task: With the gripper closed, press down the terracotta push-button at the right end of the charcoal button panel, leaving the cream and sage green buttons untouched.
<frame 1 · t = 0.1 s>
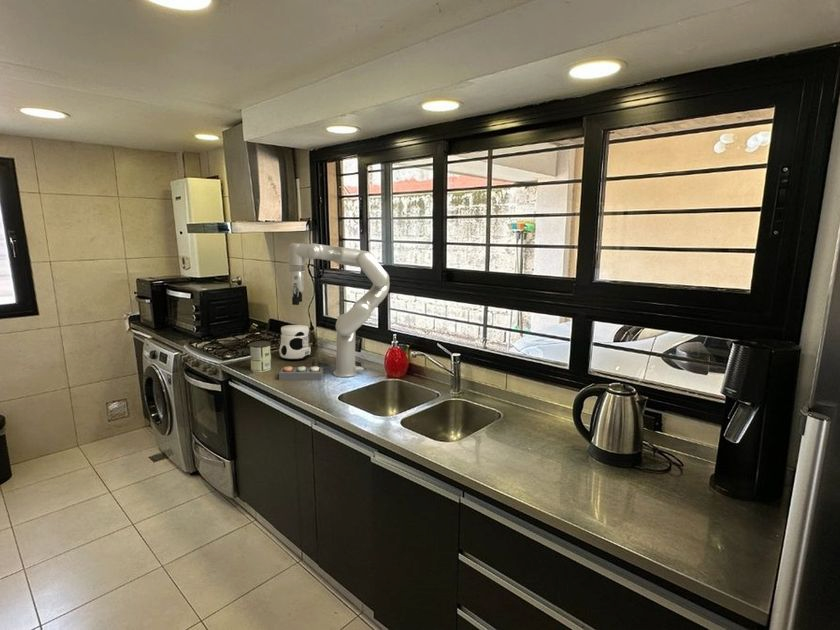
hand: (297, 303, 215), 37 cm above the counter, tool pointing down, fingers open, 9 cm apart
coffee can: (261, 369, 226), on the counter
terracotta button: (288, 369, 215), point 4 cm above the counter, slide at 0.0 cm
button panel: (301, 377, 216), on the counter
milk container: (295, 358, 250), on the counter
cream button: (314, 369, 217), point 4 cm above the counter, slide at 0.0 cm
green button: (301, 369, 216), point 4 cm above the counter, slide at 0.0 cm
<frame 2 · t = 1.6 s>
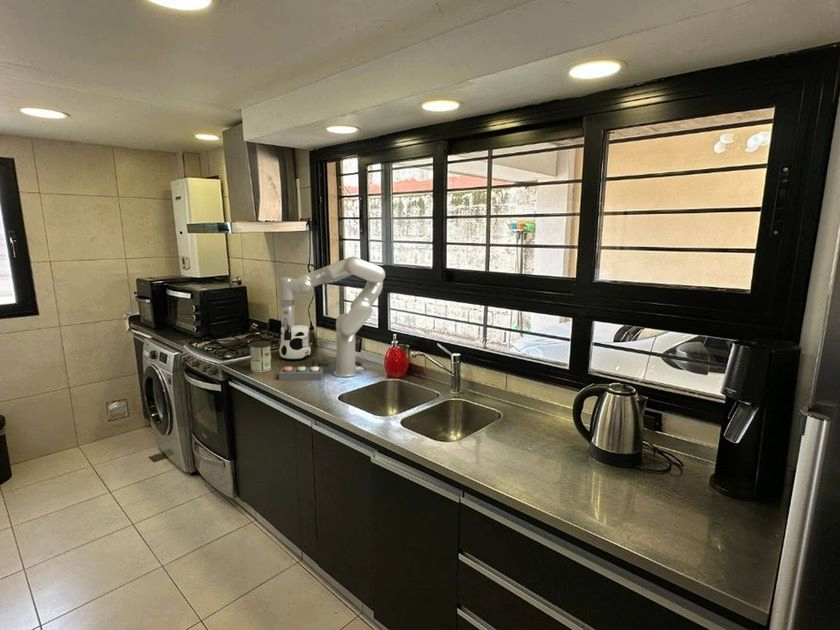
hand: (287, 339, 212), 19 cm above the counter, tool pointing down, fingers closed
nothing on the counter moved.
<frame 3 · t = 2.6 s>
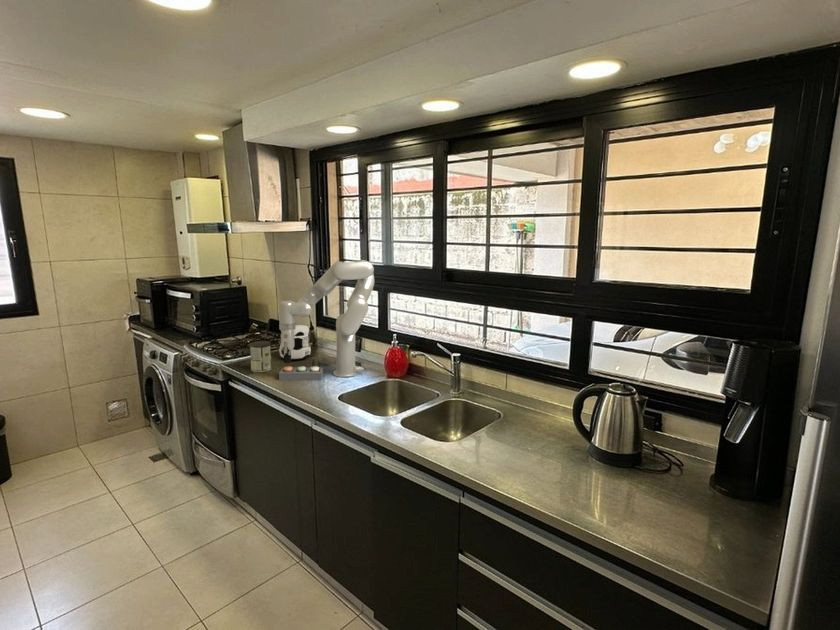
hand: (287, 362, 214), 8 cm above the counter, tool pointing down, fingers closed
nothing on the counter moved.
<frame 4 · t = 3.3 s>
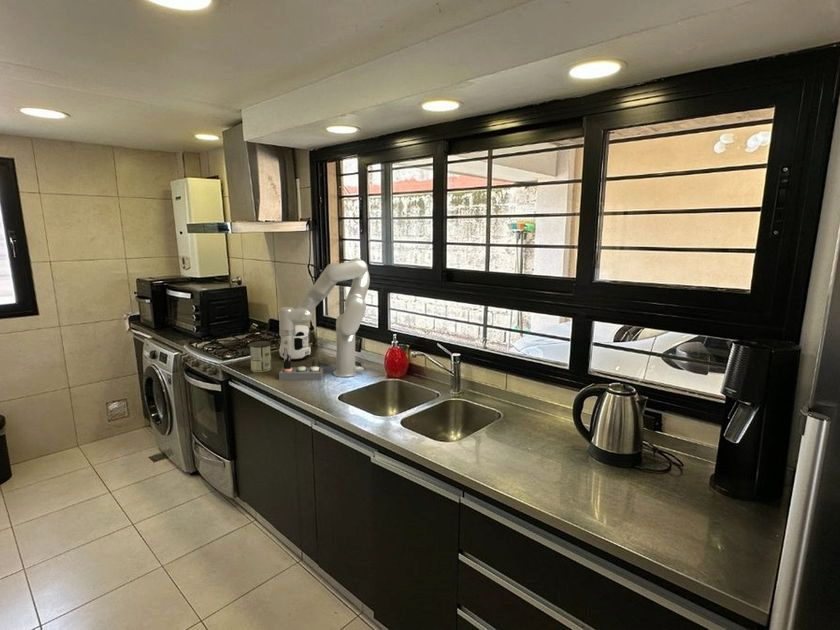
hand: (287, 368, 215), 4 cm above the counter, tool pointing down, fingers closed
terracotta button: (288, 370, 215), point 3 cm above the counter, slide at 0.6 cm, touching gripper
everything else where it was.
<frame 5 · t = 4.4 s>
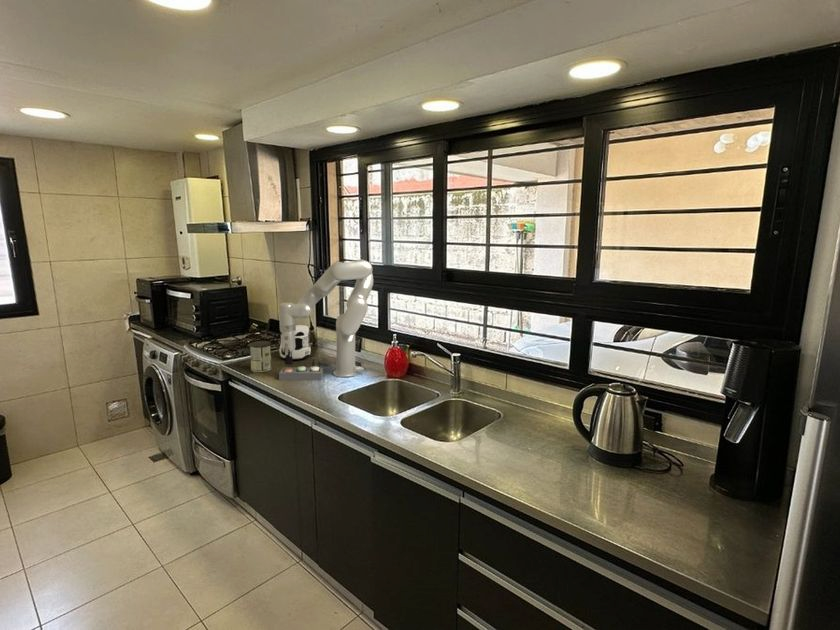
hand: (288, 364, 215), 7 cm above the counter, tool pointing down, fingers closed
terracotta button: (288, 371, 215), point 3 cm above the counter, slide at 1.3 cm
everything else where it was.
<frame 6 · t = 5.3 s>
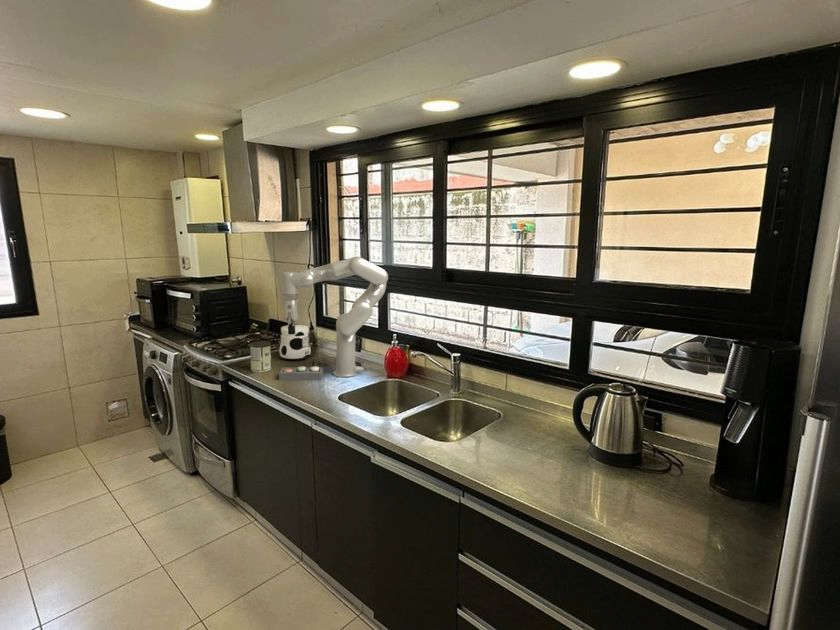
hand: (291, 333, 214), 22 cm above the counter, tool pointing down, fingers closed
nothing on the counter moved.
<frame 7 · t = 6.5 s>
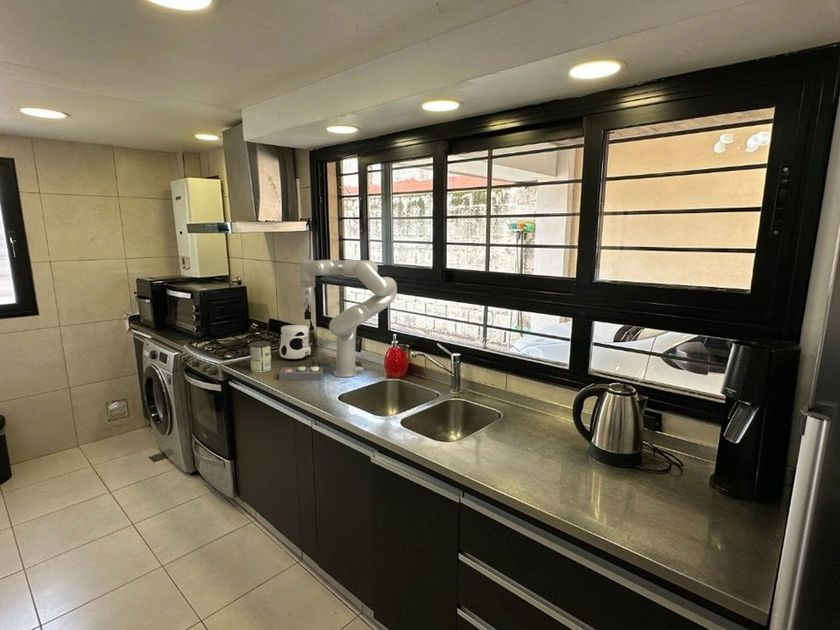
hand: (307, 319, 225), 27 cm above the counter, tool pointing down, fingers closed
nothing on the counter moved.
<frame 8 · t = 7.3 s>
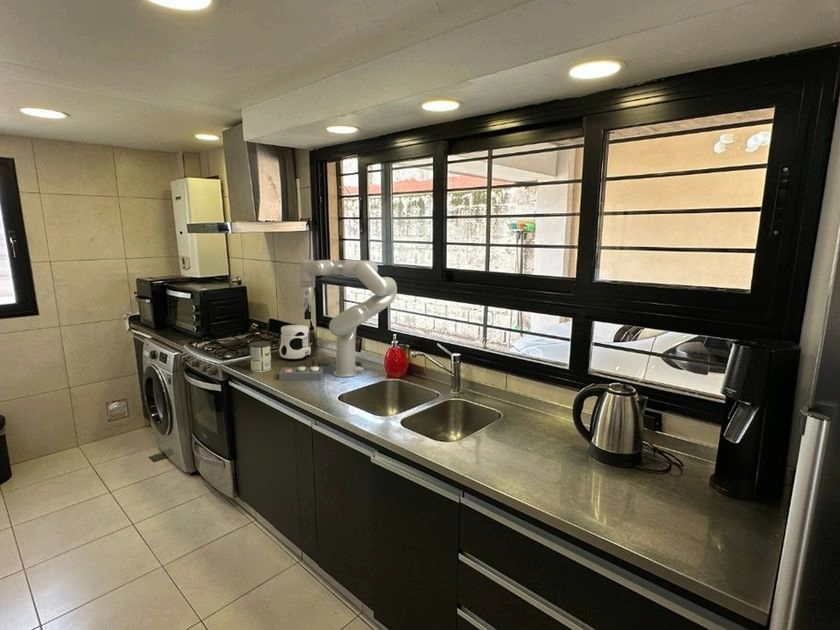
hand: (307, 319, 225), 27 cm above the counter, tool pointing down, fingers closed
nothing on the counter moved.
at the end: terracotta button slide at 1.3 cm; cream button slide at 0.0 cm; green button slide at 0.0 cm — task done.
